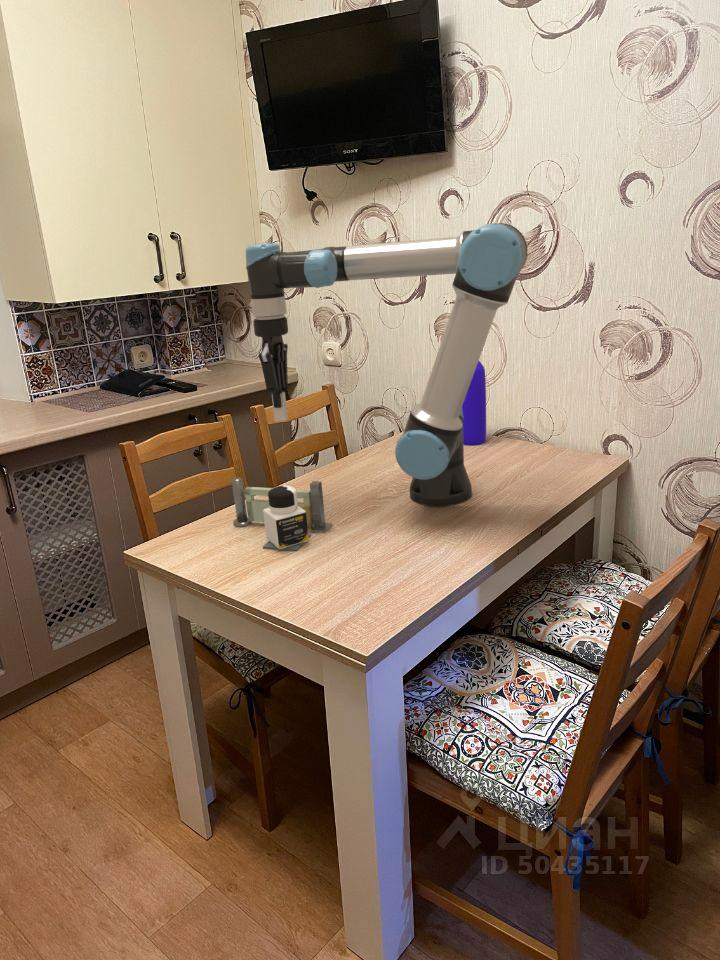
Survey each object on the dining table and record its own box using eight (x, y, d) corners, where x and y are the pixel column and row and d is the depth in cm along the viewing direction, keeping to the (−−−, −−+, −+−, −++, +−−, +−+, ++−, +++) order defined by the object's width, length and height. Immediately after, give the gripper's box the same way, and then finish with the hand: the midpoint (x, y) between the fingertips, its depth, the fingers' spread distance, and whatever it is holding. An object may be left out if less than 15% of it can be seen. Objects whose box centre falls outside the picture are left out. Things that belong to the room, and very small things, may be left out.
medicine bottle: (279, 550, 149) (273, 497, 145) (266, 539, 155) (259, 488, 151) (309, 541, 152) (304, 489, 148) (295, 530, 158) (289, 480, 154)
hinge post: (255, 520, 167) (249, 476, 163) (247, 527, 163) (240, 482, 159) (238, 518, 168) (232, 475, 165) (230, 526, 165) (223, 481, 161)
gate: (248, 520, 164) (244, 488, 161) (251, 518, 165) (247, 486, 163) (311, 525, 159) (308, 492, 156) (314, 523, 160) (310, 490, 157)
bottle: (458, 446, 210) (455, 345, 200) (459, 438, 218) (456, 340, 208) (486, 445, 209) (485, 343, 199) (486, 437, 217) (485, 339, 207)
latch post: (332, 525, 161) (328, 479, 157) (325, 533, 157) (321, 486, 153) (308, 523, 163) (304, 478, 159) (301, 531, 159) (296, 485, 155)
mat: (311, 535, 156) (311, 534, 156) (297, 551, 149) (296, 549, 149) (278, 533, 159) (278, 531, 159) (262, 548, 152) (262, 546, 152)
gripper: (264, 314, 163) (275, 413, 171) (242, 321, 152) (256, 427, 160) (295, 312, 162) (305, 412, 170) (275, 320, 150) (287, 427, 158)
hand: (281, 419), depth 165 cm, fingers closed
